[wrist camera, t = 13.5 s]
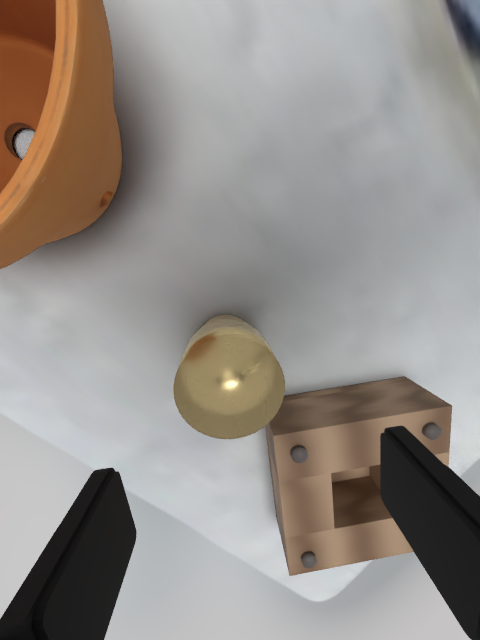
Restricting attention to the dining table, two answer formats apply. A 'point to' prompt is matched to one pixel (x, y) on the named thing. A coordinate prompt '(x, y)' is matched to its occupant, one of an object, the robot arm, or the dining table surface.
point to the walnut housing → (344, 468)
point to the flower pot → (55, 121)
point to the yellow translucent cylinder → (228, 380)
